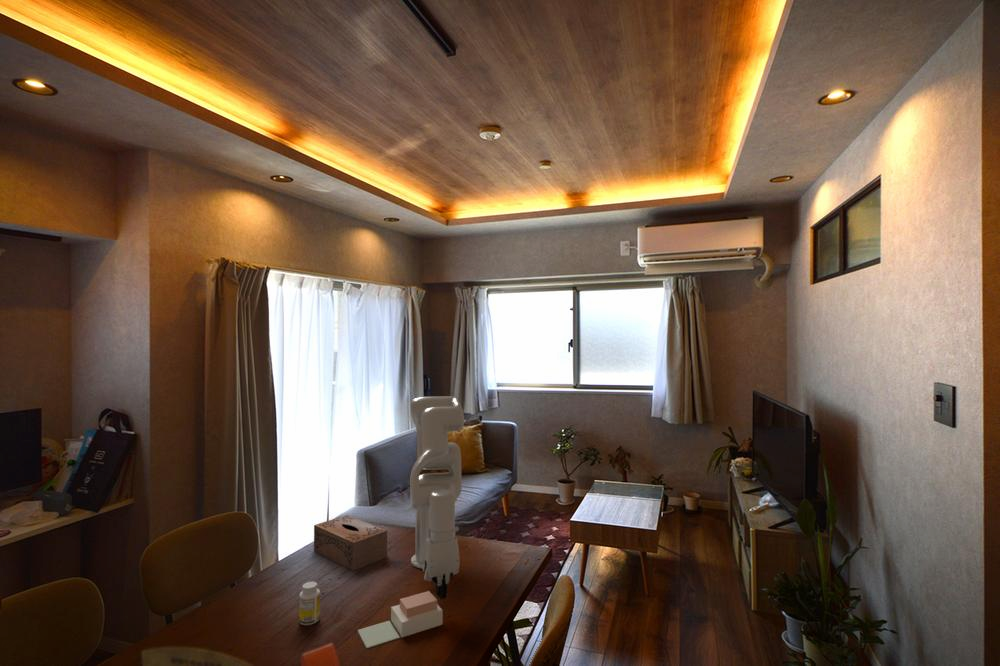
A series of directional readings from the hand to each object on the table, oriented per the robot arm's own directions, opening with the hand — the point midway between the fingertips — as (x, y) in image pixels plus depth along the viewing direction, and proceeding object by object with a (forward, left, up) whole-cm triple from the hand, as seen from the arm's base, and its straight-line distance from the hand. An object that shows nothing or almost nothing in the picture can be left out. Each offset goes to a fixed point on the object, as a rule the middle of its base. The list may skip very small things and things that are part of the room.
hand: (441, 596), depth 143 cm
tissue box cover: (+13, -56, -6) cm, 57 cm away
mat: (+19, 0, -5) cm, 19 cm away
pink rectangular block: (+7, 0, -1) cm, 7 cm away
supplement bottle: (+34, -17, -6) cm, 38 cm away
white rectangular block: (+8, 0, -5) cm, 9 cm away
